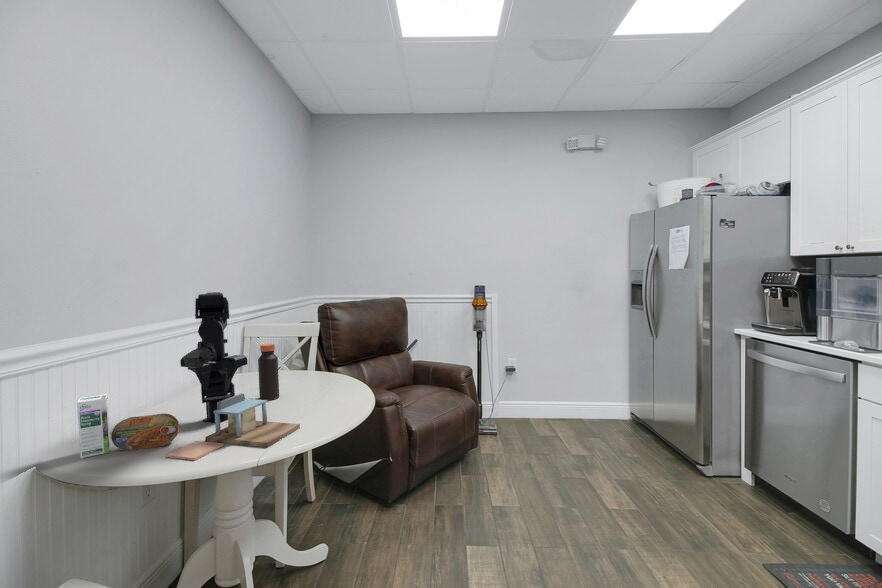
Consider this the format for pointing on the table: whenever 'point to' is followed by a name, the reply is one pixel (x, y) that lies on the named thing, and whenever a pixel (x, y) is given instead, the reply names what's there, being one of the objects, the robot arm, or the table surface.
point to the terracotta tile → (195, 450)
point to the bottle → (268, 373)
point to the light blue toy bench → (237, 410)
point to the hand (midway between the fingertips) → (215, 390)
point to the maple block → (243, 422)
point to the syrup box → (93, 425)
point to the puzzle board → (256, 434)
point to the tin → (145, 432)
